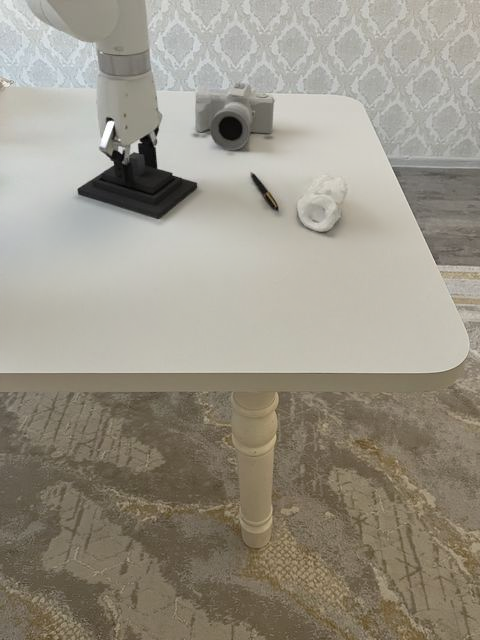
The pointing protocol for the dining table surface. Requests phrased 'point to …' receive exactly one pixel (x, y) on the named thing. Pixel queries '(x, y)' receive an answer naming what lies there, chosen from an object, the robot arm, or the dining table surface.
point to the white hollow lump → (322, 203)
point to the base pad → (139, 195)
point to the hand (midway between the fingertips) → (137, 175)
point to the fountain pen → (265, 192)
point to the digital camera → (233, 114)
